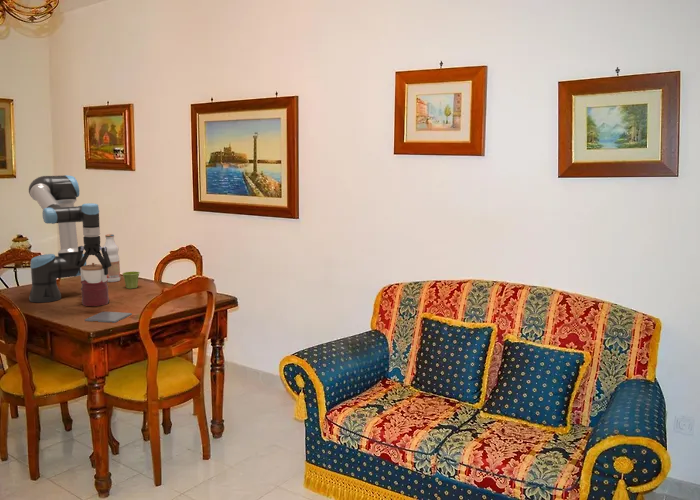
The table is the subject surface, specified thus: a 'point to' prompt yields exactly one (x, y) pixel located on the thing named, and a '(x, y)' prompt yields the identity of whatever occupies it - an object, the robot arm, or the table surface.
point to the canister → (94, 293)
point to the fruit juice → (112, 259)
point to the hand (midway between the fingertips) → (94, 280)
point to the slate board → (108, 317)
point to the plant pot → (131, 279)
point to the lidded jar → (92, 273)
